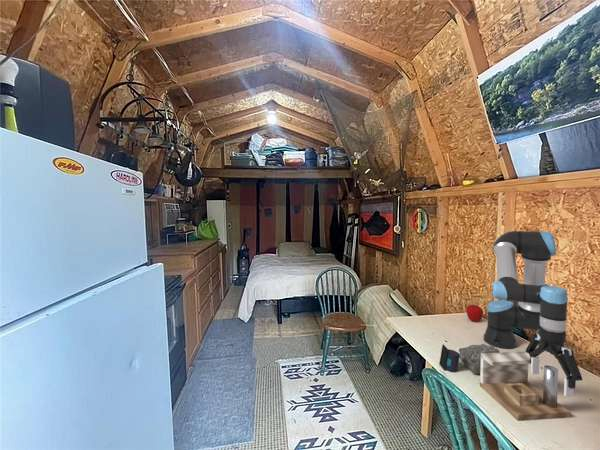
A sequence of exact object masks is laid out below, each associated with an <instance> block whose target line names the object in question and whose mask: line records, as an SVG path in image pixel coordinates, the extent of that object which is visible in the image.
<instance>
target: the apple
mask: <svg viewBox="0 0 600 450" xmlns="http://www.w3.org/2000/svg"><path fill="white" fill-rule="evenodd" d="M465 312H466V316H467V318H468V320H470V321H472V322H481V320H482V318H483V316H484V310H483V308H482V307H481V306H478V305H475V304H469V305H468V306H466V308H465Z"/></svg>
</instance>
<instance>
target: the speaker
mask: <svg viewBox="0 0 600 450" xmlns="http://www.w3.org/2000/svg"><path fill="white" fill-rule="evenodd" d="M440 351H441V352H440V357H439V366H440V367H441V368H442V370H443V371H446V370H448V371H449V372H454V373H455V372H457V371H458V366H459V362H460V361H459V360H460V358H459V356H460V352H459V351H458V352H457V351H456V350H453V349H449V348H447V346H445V344H442V345H441V350H440Z"/></svg>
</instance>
